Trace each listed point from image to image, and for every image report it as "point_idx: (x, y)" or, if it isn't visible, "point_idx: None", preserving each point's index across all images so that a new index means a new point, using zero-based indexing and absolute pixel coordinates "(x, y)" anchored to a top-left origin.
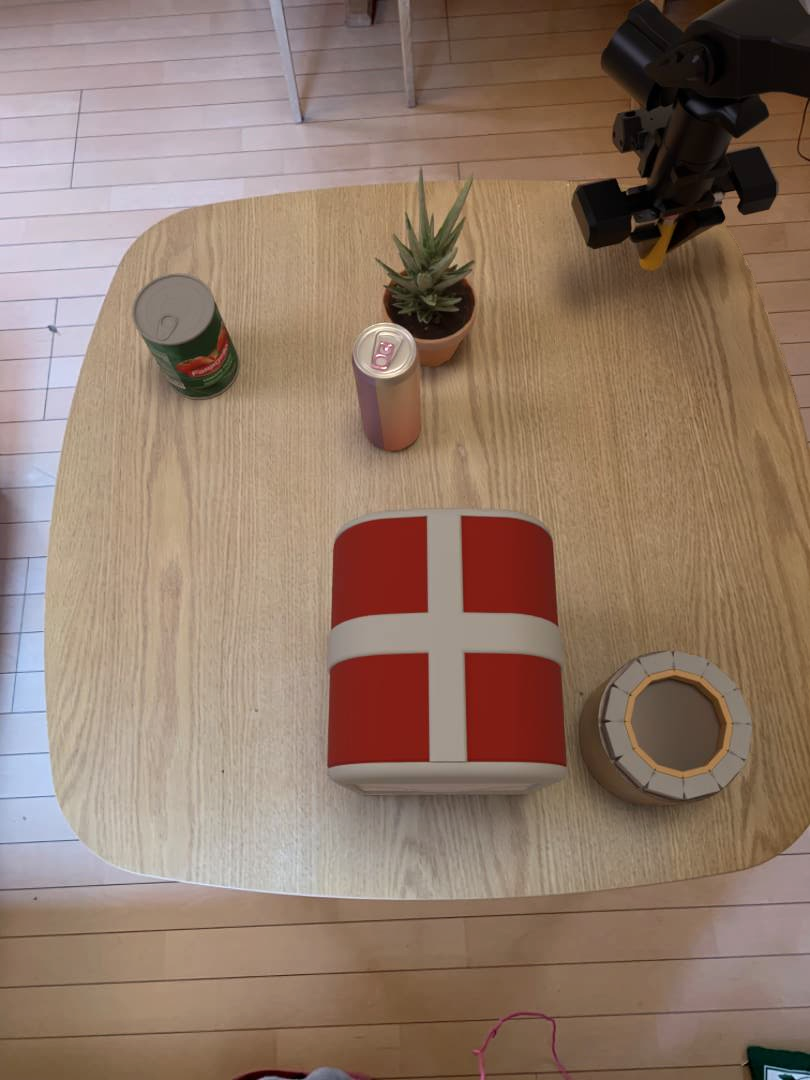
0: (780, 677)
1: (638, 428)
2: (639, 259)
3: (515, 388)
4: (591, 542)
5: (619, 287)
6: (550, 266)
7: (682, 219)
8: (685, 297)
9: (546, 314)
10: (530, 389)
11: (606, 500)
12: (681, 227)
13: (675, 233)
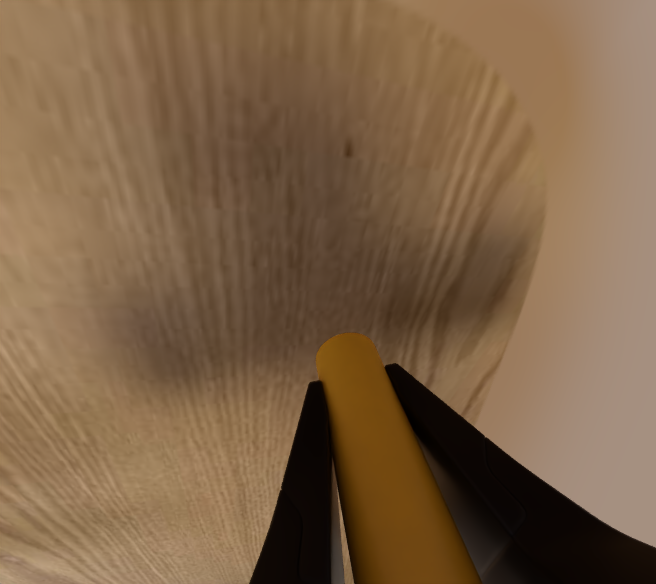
0: (351, 575)
1: (275, 503)
2: (316, 364)
3: (71, 499)
4: (214, 568)
5: (270, 344)
6: (64, 290)
7: (494, 572)
8: (398, 359)
9: (94, 401)
10: (101, 497)
11: (230, 548)
12: (468, 544)
13: (436, 480)
